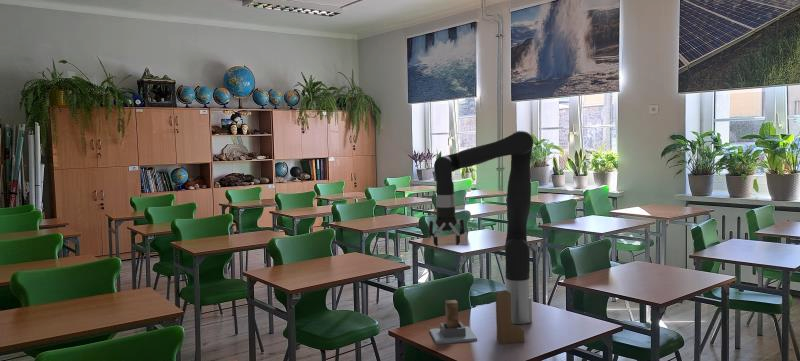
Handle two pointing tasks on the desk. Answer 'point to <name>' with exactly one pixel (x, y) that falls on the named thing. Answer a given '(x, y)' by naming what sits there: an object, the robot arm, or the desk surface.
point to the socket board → (452, 334)
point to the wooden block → (506, 320)
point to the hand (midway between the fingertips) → (446, 245)
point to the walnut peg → (451, 314)
